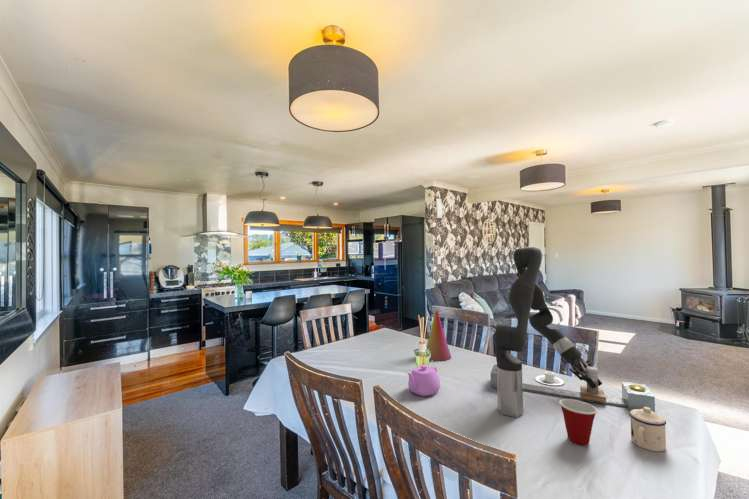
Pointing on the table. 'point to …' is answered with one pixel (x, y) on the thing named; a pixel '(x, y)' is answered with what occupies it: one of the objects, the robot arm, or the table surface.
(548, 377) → the candle holder
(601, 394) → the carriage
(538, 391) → the rail
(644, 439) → the teacup with lid
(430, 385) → the teapot
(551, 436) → the table surface
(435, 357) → the decorative cone
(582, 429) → the plastic cup
